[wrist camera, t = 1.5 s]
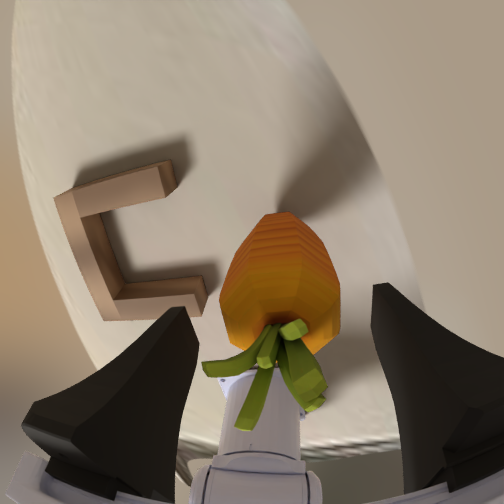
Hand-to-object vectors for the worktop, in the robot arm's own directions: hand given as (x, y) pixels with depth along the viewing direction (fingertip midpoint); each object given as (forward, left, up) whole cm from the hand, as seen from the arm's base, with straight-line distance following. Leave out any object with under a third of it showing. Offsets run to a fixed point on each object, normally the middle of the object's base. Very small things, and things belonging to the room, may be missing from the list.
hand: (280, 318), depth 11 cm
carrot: (0, 0, -11) cm, 11 cm away
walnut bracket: (0, +10, -11) cm, 15 cm away
